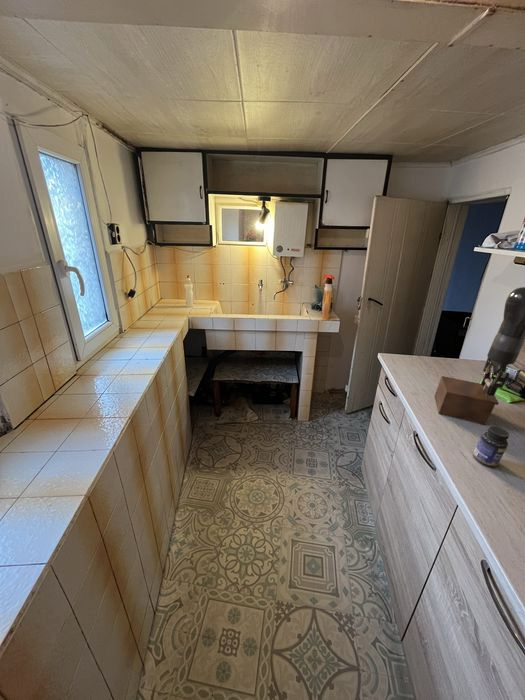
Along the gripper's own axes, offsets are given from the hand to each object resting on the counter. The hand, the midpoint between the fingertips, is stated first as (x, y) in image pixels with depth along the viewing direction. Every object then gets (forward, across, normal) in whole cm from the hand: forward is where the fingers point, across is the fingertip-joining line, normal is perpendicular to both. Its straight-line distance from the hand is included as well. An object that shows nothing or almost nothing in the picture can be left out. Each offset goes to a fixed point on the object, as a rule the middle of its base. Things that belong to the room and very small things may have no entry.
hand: (487, 389), depth 100 cm
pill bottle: (+11, -26, +3) cm, 28 cm away
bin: (+11, 0, +6) cm, 12 cm away
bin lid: (+2, 0, +6) cm, 6 cm away
